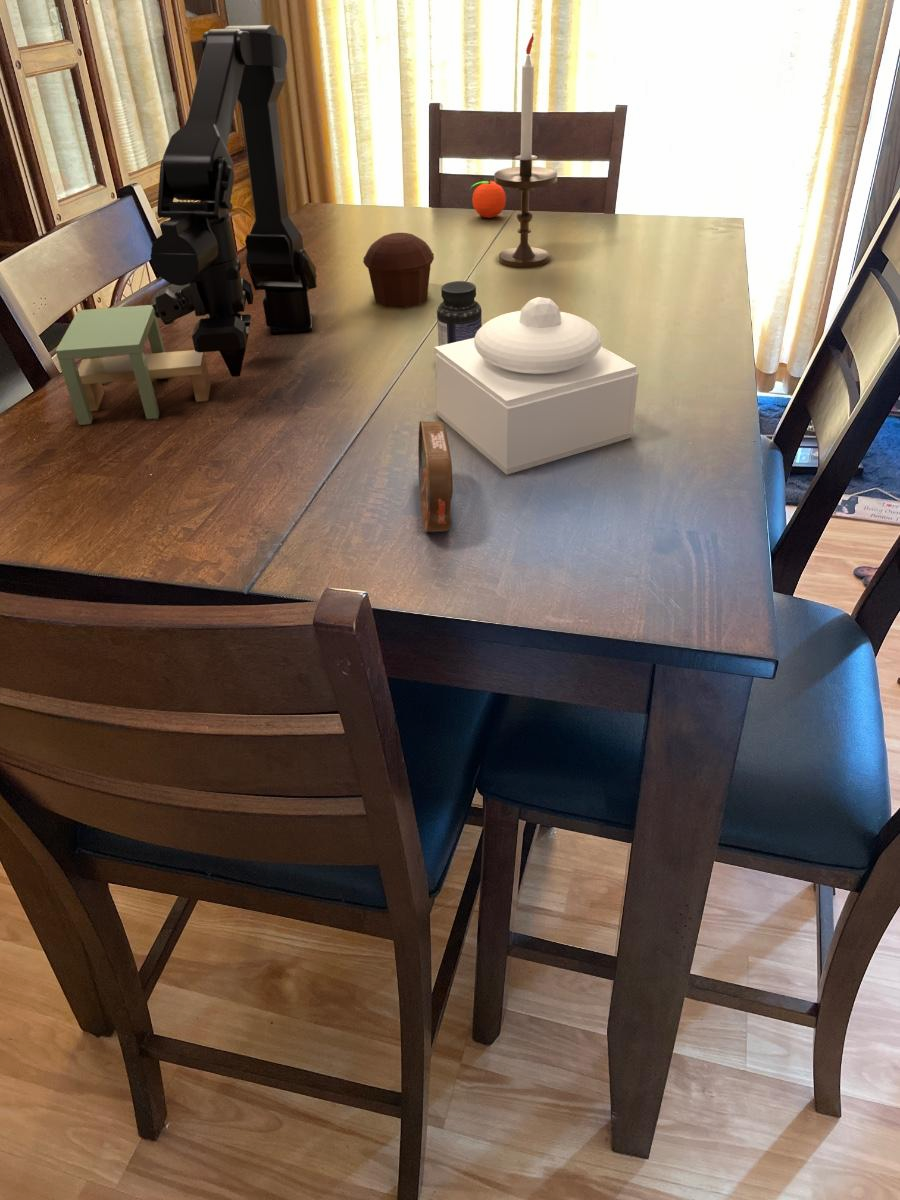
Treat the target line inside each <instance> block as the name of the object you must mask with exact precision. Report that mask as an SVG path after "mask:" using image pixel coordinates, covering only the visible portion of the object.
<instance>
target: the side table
mask: <svg viewBox="0 0 900 1200" xmlns="http://www.w3.org/2000/svg"><path fill="white" fill-rule="evenodd" d="M154 313H155V311H154V308H153V307H152V304H144V305H129V306H119V307H104V308H91V309H89V308H88V309H78V310H77V311H76V314H75V315H74V316H73V319H72V320H71V323H70V324H69V326H68V327H67V329H66V331H65V333H64V335H63V337H62V338H61V340H60V342H59V343H58V346H57V348H56V349H55V354H56V357H57V360H58V363H59V366H60V369H61V373H62V376H63V379H64V382H65V386H66V388H67V391H68V395H69V397H70V400H71V404H72V407H73V410H74V413H75V416H76V419H77V423H78V426H84V425H85V426H86V425H92V423H93V420H94V418H93V417H94V416H93V415H92V414H93V413H92V411H90V407H89V404H88V401H87V398H86V395H85V391H84V388H83V385H82V382H81V378H80V375H79V372H78V366H77V362H76V359H93V358H104V357H116V356H130V359H131V363H132V367H133V371H134V374H135V378H136V380H135V381H136V385H137V389H138V392H139V393H138V394H139V396H140V401H141V404H142V408H143V411H144V415H145V419H146V420H154V419H155V420H157V419H159V416H160V410H159V405H158V402H157V399H156V394H155V390H154V386H153V382H152V378H150V374H149V370H148V366H147V362H146V359H145V355H144V354H145V351H144V348H145V344H146V341H147V339H148V343H149V346H150V350H151V351H150V352H151V354H153V353H165V352H166V350H165V345H164V341H163V337H162V333H161V330H160V329H161V328H160V325H159V321H158V318H157V317H155V315H154ZM157 379H158V380H165V379H166V380H167V379H170V377H162V378H157ZM108 383H109V382H105V383H102V385H106V384H107V385H108Z"/></svg>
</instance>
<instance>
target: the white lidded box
mask: <svg viewBox="0 0 900 1200" xmlns="http://www.w3.org/2000/svg"><path fill="white" fill-rule="evenodd" d="M602 344H603V340H602V336H601V333H600V331H599V330H598V329H597V328H596V327H595V326H594V324H593V323H591V322H590V321H588V320H586V319H585V318H583V317H581V316H578V315H575V314H572V313H569V312H565V311H560V307H559V306H558V305H557V304H556V303H555V302H554V301H553V300H552V298H549V297H542V296H537V297H535V298H532V299H530V300H529V301H527V302H526V303H525V304H524V305H523V307H522V308H521V309H520V310H517V311H511V312H508V313H507V312H506V313H503V314H500V315H498V316H496V317H494V318H491V319H490V320H488V321H487V322H485V323H483V325H482V327H481V328H480V329H479V330H478V331H477V333H476V335H475V338H471V339H467V340H463V341H458V342H454V343H450V344H446V345H441V346H439V345H438V346H433V350H434V351H433V352H434V359H435V360H434V361H435V386H436V406H437V407H436V408H437V409H436V410H437V416H438V417H439V418H440V419H441V420H442V421H443V422H444V423H446V424H447V425H448V426H449V427H450V428H452V429H453V430H454V431H455V432H456V433H458V435H460V436H461V437H462V438H463V439H465V441H467V442H468V443H469V444H470V445H471V446H473V447H474V448H475V449H476V450H477V451H478V452H479V453H481V455H483V456H484V457H485V458H486V459H487V460H489V461H490V462H491V463H492V464H493V465H494V466H496V467H497V468H498V469H499V470H500V471H501V472H503V473H504V474H505V475H506V476H508V475H511V474H514V473H517V472H520V471H524V470H527V469H531V468H534V467H537V466H541V465H544V464H548V463H550V462H554V461H557V460H560V459H564V458H567V457H571V456H574V455H578V454H580V453H584V452H588V451H591V450H595V449H598V448H601V447H604V446H608V445H611V444H614V443H618V442H622V441H624V440H628V439H632V433H633V429H634V419H635V410H636V402H637V394H638V393H637V392H638V385H639V383H638V382H639V373H637V366H636V365H635V364H634V363H631V362H630V361H628V360H626V359H624V358H623V357H621V356H619V355H618V354H616V353H614V352H612V351H611V350H609V349H607V348H605V347H603V346H602Z"/></svg>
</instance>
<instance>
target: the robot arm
mask: <svg viewBox="0 0 900 1200" xmlns="http://www.w3.org/2000/svg"><path fill="white" fill-rule="evenodd" d="M201 44H202V45H201V46H202V53H203V54H202V57H201V62H200V66H199V70H198V73H197V78H196V82H195V87H194V91H193V93H192V98H191V101H190V102H191V103H190V106H189V110H188V115H187V119H186V121H185V124H184V125H183V126H181V128H179V129H178V130H177V131H176V132H174V133H173V134H172V135H171V137H170V138H169V141H168V144H167V146H166V148H165V150H164V153H163V156H162V159H161V162H160V165H159V178H158V179H159V181H158V195H157V207H156V209H157V211H156V214H157V217H158V218H159V219H160V218H161V219H162V218H164V219H168V220H163V221H161V223H159V228H160V232H161V235H160V236H158V237H156V239H155V240H154V241H153V243H152V245H151V250H150V251H151V252H150V261H151V264H152V266H153V268H154V270H155V271H156V273H157V274H158V275H159V276H160V278H161V279H163V280H165V282H167V283H169V285H167V286H165V287H162V288H161V289H159V290H157V291H156V292H155V293H154V294H153V297H152V299H151V301H150V305H152V307H153V308H154V311H155V313H154V315H155V317H157V319H160V320H161V321H162V324H164V325H165V326H169V325H171V324H173V323H175V321H176V320H178V319H180V318H182V317H185V316H187V315H189V314H191V313H193V312H194V315H195V317H205V316H206V315H208V317H205V318H200V319H199V320H198V321H197V323H196V324H195V325H194V328H193V331H192V335H191V340H192V344H193V348H194V349H193V350H195V351H196V352H199V353H200V352H204V353H211V352H219V353H220V355H221V357H222V360H223V361H224V364H225V366H226V367H227V369H228V372H229V373H230V375H231V377H232V378H237V377H241V374H242V368H243V363H244V358H245V353H246V348H247V344H248V340H249V334H250V327H251V321H252V315H251V314H242V313H243V312H245V307H246V302H247V305H253V303H254V293H253V288H254V291H259V290H260V291H264V293H265V294H263V296H262V306H263V312H264V319H265V323H266V324H265V325H266V327H268V328H269V334H271V335H276V334H277V335H278V334H289V333H302V332H311V331H313V315H312V313H311V309H310V308H311V307H310V301H309V300H310V299H309V293H308V292H309V291H310V290H314V289H316V288H317V286H318V285H317V278H318V277H317V268H316V265H315V264H314V263H313V260H312V259H311V258H310V256H309V254H308V252H307V251H306V250H305V248H304V242H303V235H302V233H301V232H300V231H299V229H298V228H297V226H296V225H295V224H294V222H293V221H292V219H291V218H290V216H289V208H288V207H289V206H288V198H287V191H286V181H285V170H284V163H283V161H284V160H283V152H282V144H281V143H282V142H281V135H280V126H279V125H280V123H279V116H278V106H277V105H278V104H277V102H278V99H279V97H280V95H281V92H282V90H283V87H284V85H285V82H286V76H287V75H286V65H287V63H288V49H287V43H286V39H285V38H284V36H283V35H282V34H278V32H277V30H276V28H275V26H273V25H271V24H264V25H263V24H261V25H260V24H259V25H253V24H251V25H227V26H225V27H224V28H211V29H209V30H208V31H205V32H204V33H203V35H202V40H201ZM237 102H238V103H239V105H240V108H241V116H242V124H243V131H244V141H245V147H246V155H247V164H248V171H249V180H250V187H251V195H252V203H253V210H254V211H253V212H254V223H253V225H252V228H251V230H250V232H249V234H246V237H245V240H244V242H245V247H246V256H245V263H246V268H247V271H248V274H249V277H250V280H251V282H252V283H250V282H249V281H248V280H246V279H245V278H244V277H243V278H241V273H240V271H241V268H242V266H241V259H240V258H238V256H237V255H238V254H237V250H236V245H235V239H234V238H235V237H234V232H233V227H232V221H231V217H230V211H232V210H233V208H234V206H233V204H232V202H231V201H232V195H233V188H234V182H235V170H234V161H233V159H232V156H231V154H230V152H229V149H228V142H229V136H230V132H231V128H232V123H233V119H234V115H235V111H236V110H235V109H236V106H237ZM175 199H176V200H178V201H174V200H175ZM252 286H253V287H252Z"/></svg>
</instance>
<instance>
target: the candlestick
mask: <svg viewBox="0 0 900 1200" xmlns="http://www.w3.org/2000/svg"><path fill="white" fill-rule="evenodd" d="M534 40H535V37H534V32H532V33H531V37H530V39H529V40H528V43H527V46H526V49H525V51H526V56H525V57H526V59H525V62H524V65H522V66H521V67H522V68H521V113H520V114H521V115H520V124H521V125H520V154H519V155H515V156H514V159H515V160H518V161H519V166H514V167H507V168H502V169H500V170H497V171H495V172H494V175H493V181H494V182H495V183H496V184H498V185H500V186H501V187H504V188H510V189H511V188H512V189H517V190H518V191H520V193H521V194H520V197H521V198H520V205H521V206H520V212H519V213H517V214H516V218H517V219H516V220H517V221H518V222H519V228H517V233H518V234H520V242H519V244H518V245H517V247H510V248H506V249H504V250H502V251H500V252H499V253H498V261H499V263H500V264H502V265H504V266H507V267H511V268H519V269H520V268H521V269H522V268H535V267H540V266H543V265H545V264H547V263H548V262H549V260H550V259H549V258H550V257H549V256H550V254H549V252H548V251H547V250H545V249H543V248H540V247H539V248H538V247H532V246H530V244H529V234H530V233H532V229H531V228H530V222H531V221H532V219H533V213H531V212H530V209H529V207H530V191H532V190H533V189H536V188H537V189H538V188H545V187H548V186H553V185H554V184H556V183H557V182H558V172H557V171H556V170H554V169H552V168H547V167H542V166H533V160H537V159H538V158H539V157H538V156H537V155H534V154H533V116H534V111H533V110H534V81H535V80H534V79H535V77H534V75H535V66H534V65H532V60H531V52H532V48H533V42H534Z"/></svg>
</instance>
